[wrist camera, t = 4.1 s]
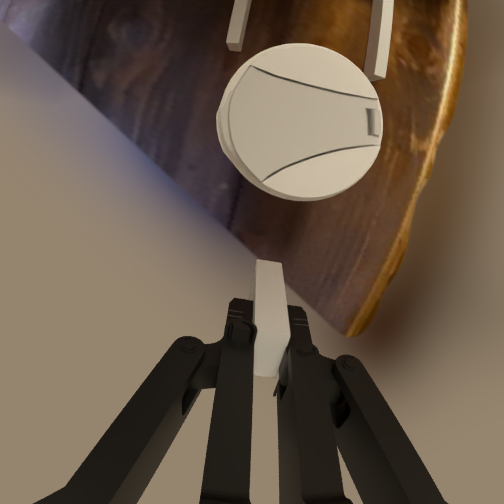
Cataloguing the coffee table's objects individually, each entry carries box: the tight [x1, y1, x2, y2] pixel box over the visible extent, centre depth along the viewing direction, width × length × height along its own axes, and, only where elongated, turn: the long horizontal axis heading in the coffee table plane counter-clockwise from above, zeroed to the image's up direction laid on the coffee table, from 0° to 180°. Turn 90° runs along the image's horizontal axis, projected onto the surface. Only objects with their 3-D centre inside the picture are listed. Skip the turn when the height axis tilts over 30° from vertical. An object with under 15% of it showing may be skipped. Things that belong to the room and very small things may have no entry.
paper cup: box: [216, 43, 383, 201], centre depth 17 cm, size 8×8×14 cm
